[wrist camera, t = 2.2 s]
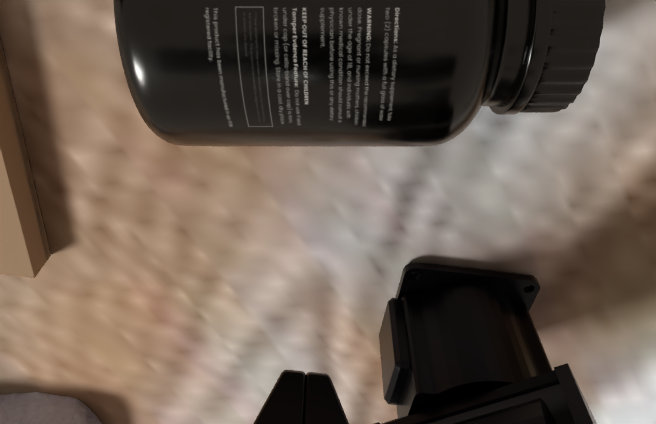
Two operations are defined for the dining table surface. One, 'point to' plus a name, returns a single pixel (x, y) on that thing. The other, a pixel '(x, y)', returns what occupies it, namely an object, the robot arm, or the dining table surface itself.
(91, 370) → the dining table surface
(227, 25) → the supplement bottle
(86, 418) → the stone block
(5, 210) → the mat
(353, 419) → the dining table surface
